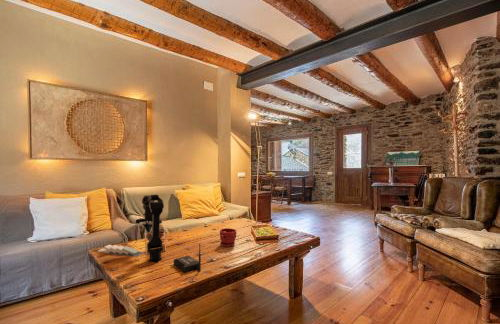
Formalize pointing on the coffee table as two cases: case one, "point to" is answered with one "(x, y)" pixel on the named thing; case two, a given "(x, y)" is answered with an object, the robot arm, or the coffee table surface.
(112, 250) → the domino
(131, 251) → the sage domino
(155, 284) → the coffee table surface
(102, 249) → the end domino
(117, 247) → the domino
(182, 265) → the black wifi router
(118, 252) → the domino
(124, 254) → the mat
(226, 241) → the plant pot
